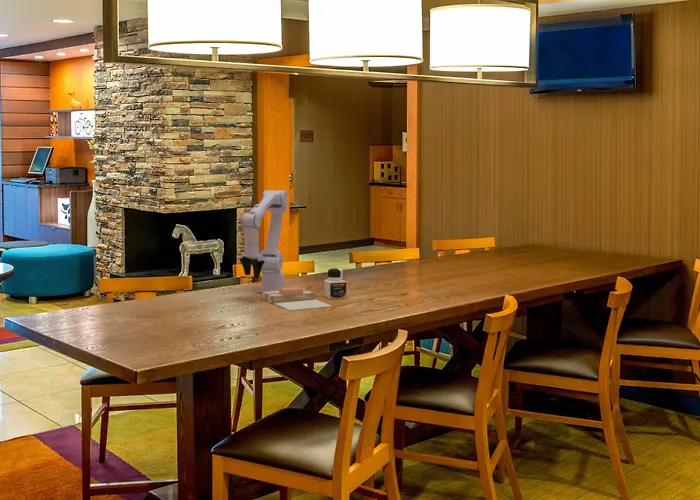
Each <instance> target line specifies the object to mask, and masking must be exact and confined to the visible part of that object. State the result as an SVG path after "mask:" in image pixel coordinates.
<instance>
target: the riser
mask: <svg viewBox="0 0 700 500" xmlns="http://www.w3.org/2000/svg"><path fill="white" fill-rule="evenodd" d="M302 289H303V294H297V295H282V294H280V293H279V290H272V291H261V290H260V291H261V293H260V299H261V300H263V301H266V302H268V303H271V304H273V305H275V304H274V303H283V302H294V301H304V300H316V292H313V291H310V290H308V289H304V288H302Z"/></svg>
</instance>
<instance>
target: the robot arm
mask: <svg viewBox="0 0 700 500" xmlns="http://www.w3.org/2000/svg"><path fill="white" fill-rule="evenodd" d="M288 203H289V196H288V192H287V191H286V190H285V189H284V190H272V189H271V190H270V189H269V190H268V189H265V190H264V191H263V193H262V199H261V201H260V202H259V204H255V205H254V206H253V207H252V208H251V210H250V211H249V212H248V213H245V214H243V215H242V216H241V227H242V232H243V233H244V241H243V242H244V251H242V252H240V257H241V258H239V262H240V263H241V265H242V269H243V272H244V273H243V274H244V275H245V276H250V275H251V273H252V272H253V273H252V274H253V277H254V278H255V279H256V278H260V276H261V289H260V290H258V291H257V292H258V293H260V294H261V291H272V290H279V288H285V275H284V273H283V272H282V271H281V270H282V269H283V266H284V261H283V260H284V256H283V253H281V252H280V250H279V242H280V237H281V232H282V231H281V229H282V224H283V217H284V213H285V212H286V211H287V208H288ZM267 211H268V212H270V213H271V216H270V220H269V228H268V234H267V240H266V247H265V248H264V249H263V250H262V251H259V250H260V247H259V243H260V242H259V228H260V227H261V225H262V224H261V223H262V221H263V220H262V219H263V218H264V217H265V216H266V214H267Z"/></svg>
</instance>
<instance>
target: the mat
mask: <svg viewBox="0 0 700 500" xmlns="http://www.w3.org/2000/svg"><path fill="white" fill-rule="evenodd" d="M273 305H275V306H278V307H280V308H282V309H285V310H286V311H289V312H296V311H303V310H313V309H316V310H317V309H323V308H332V307H333V305H330V304H328V303H326V302H324V301H323V302H322V301H320V300H318V299H315V300H304V301H294V302H283V303H274V304H273Z"/></svg>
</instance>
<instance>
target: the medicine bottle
mask: <svg viewBox="0 0 700 500" xmlns="http://www.w3.org/2000/svg"><path fill="white" fill-rule="evenodd" d="M323 283H324V298H326V299H329V300H337V299H338V300H339V299H346V298H347V281H346V280H343V270H342V269H341V268H334V267H333V268H330V269H328V270H327V279H324V282H323Z"/></svg>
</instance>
